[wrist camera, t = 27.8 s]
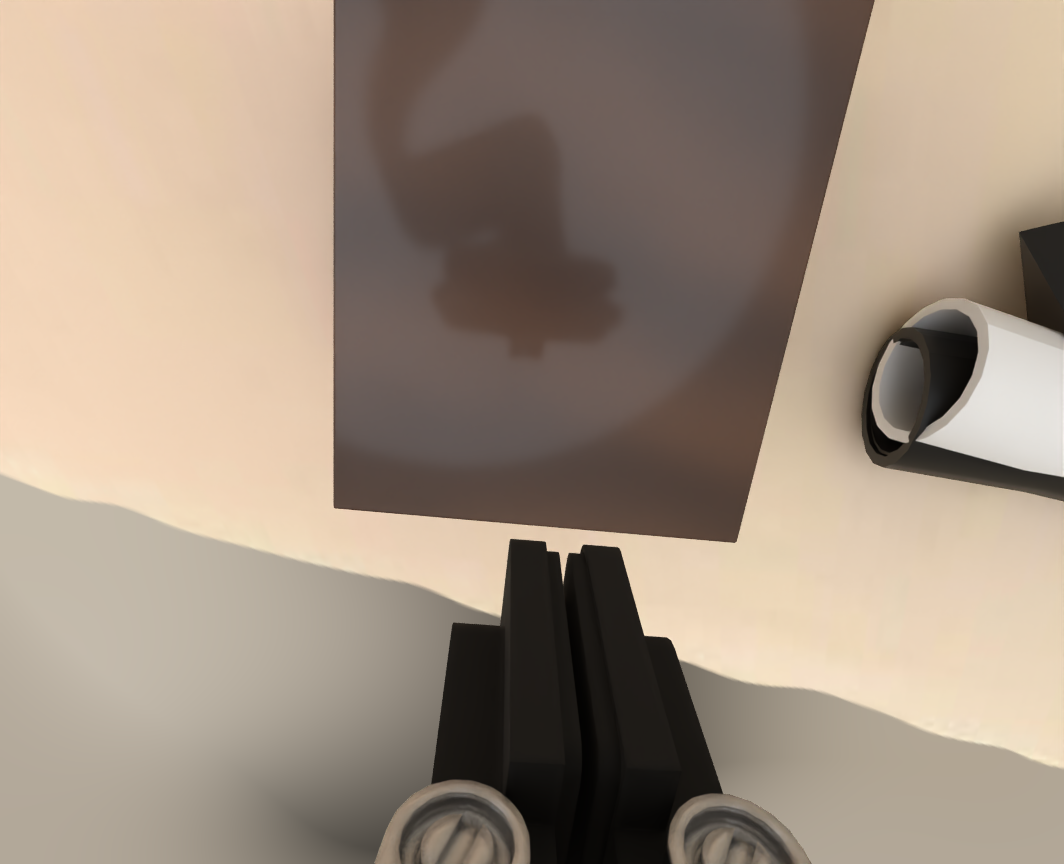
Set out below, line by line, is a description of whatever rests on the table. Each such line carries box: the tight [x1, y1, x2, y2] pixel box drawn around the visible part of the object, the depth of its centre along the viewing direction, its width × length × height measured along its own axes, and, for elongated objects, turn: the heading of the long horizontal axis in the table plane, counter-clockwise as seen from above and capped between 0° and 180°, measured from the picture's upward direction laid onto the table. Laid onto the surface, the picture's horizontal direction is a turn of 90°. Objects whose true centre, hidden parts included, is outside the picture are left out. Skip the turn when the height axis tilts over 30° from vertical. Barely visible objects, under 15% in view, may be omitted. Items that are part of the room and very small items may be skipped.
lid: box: [334, 0, 875, 543], centre depth 19 cm, size 16×14×1 cm
